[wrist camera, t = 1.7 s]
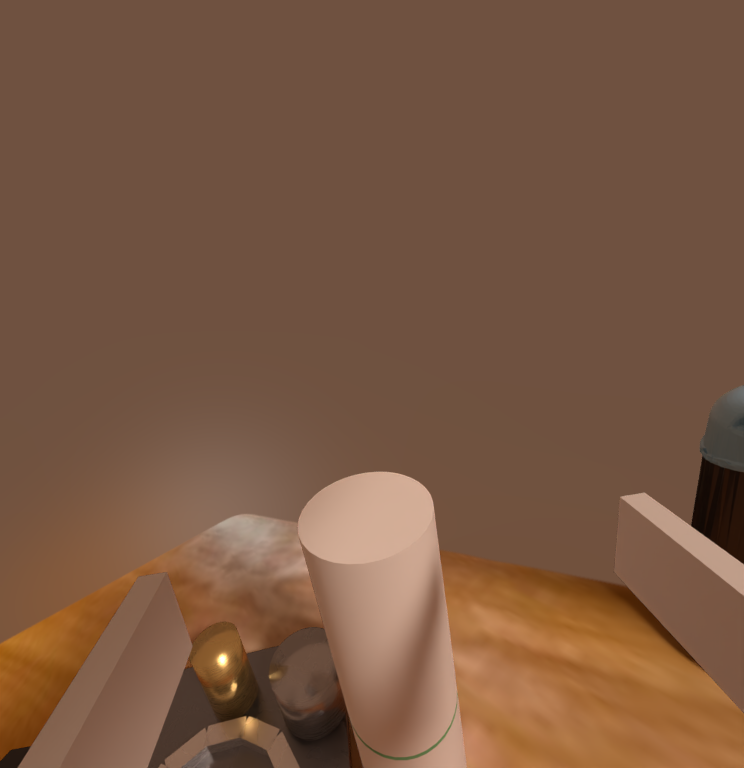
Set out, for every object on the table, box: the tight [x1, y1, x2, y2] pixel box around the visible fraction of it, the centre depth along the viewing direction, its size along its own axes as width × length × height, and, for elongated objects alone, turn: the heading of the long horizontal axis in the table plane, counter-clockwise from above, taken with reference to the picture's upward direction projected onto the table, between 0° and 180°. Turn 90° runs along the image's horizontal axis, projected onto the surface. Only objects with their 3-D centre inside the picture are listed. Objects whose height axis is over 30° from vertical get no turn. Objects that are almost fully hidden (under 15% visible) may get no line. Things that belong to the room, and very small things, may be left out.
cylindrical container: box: [297, 472, 467, 768], centre depth 24 cm, size 7×7×25 cm
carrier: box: [147, 622, 352, 768], centre depth 29 cm, size 20×20×8 cm
